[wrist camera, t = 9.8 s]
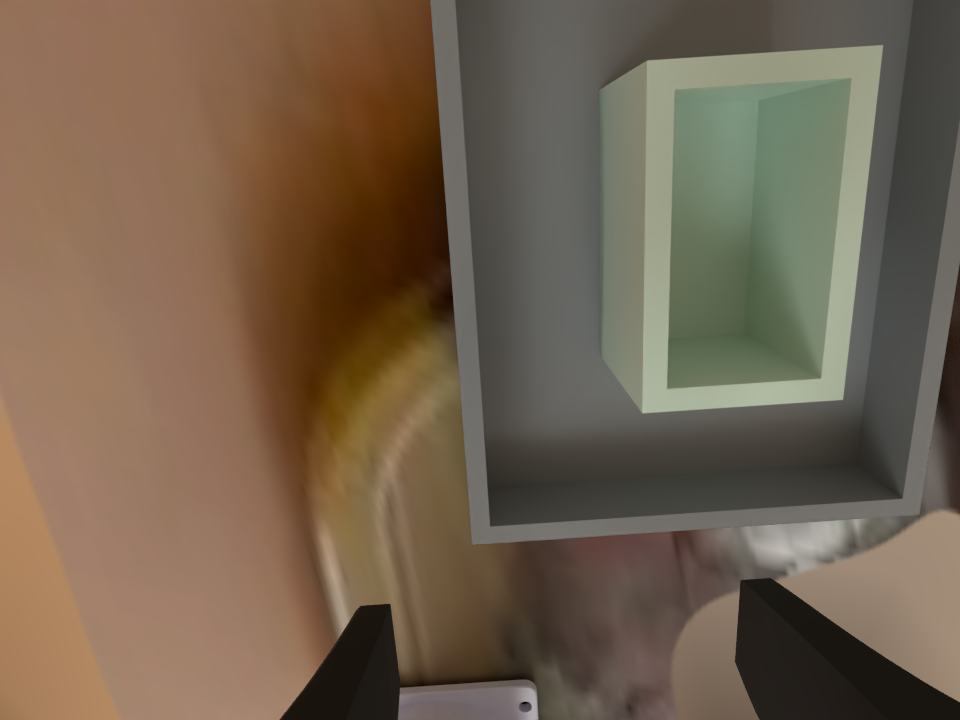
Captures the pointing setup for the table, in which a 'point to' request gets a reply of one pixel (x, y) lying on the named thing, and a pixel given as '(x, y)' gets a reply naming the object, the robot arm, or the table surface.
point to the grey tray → (576, 274)
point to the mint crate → (734, 225)
